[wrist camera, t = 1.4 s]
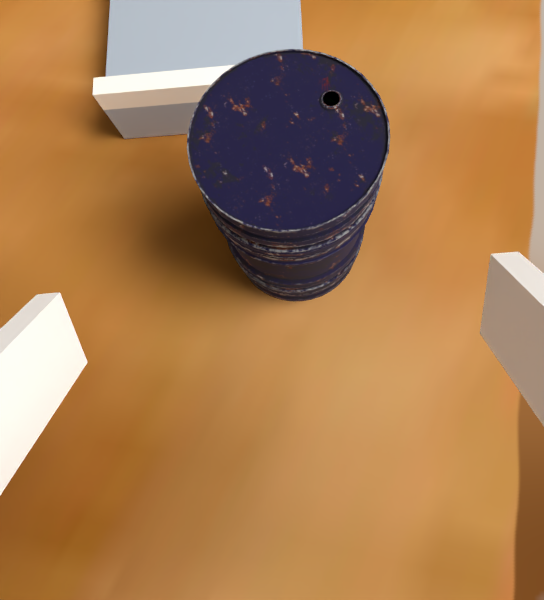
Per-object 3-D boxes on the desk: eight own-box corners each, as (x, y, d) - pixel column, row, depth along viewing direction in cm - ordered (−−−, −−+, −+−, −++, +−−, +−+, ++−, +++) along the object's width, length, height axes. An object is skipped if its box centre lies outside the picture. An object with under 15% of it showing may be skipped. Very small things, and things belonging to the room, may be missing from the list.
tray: (124, 138, 39) (92, 94, 33) (131, -11, 42) (103, -73, 37) (305, 124, 37) (304, 76, 32) (297, -28, 41) (295, -96, 35)
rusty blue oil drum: (290, 328, 34) (274, 278, 19) (211, 240, 36) (143, 134, 21) (385, 245, 35) (438, 137, 20) (302, 163, 37) (296, 11, 22)
